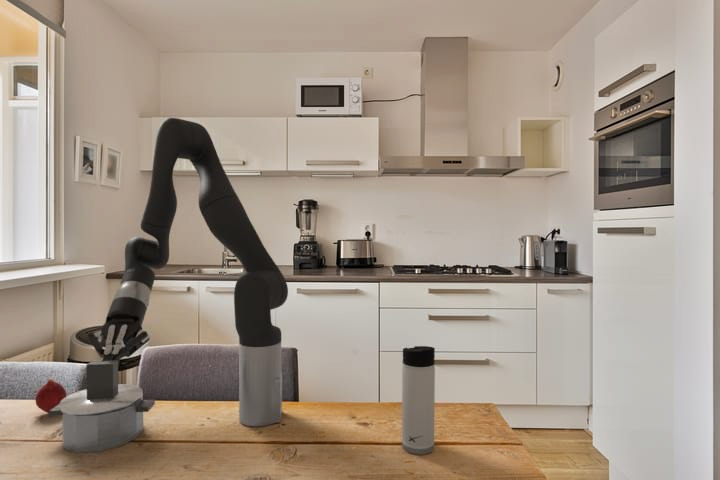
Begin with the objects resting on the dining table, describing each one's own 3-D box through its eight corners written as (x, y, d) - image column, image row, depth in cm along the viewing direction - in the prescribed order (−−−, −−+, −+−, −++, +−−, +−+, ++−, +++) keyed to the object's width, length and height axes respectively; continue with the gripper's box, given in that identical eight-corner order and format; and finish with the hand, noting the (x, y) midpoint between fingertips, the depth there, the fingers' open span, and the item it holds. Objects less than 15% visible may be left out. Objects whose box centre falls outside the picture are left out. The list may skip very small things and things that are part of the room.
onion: (72, 408, 105) (72, 375, 104) (53, 419, 99) (52, 383, 99) (49, 407, 105) (49, 374, 105) (29, 417, 100) (28, 382, 99)
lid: (152, 386, 99) (152, 351, 99) (126, 413, 84) (125, 372, 84) (82, 389, 97) (82, 353, 97) (43, 417, 82) (42, 375, 82)
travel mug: (414, 459, 82) (415, 351, 82) (395, 443, 88) (396, 343, 88) (441, 451, 85) (442, 347, 85) (421, 437, 91) (422, 340, 91)
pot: (162, 418, 99) (162, 387, 99) (138, 449, 85) (138, 413, 85) (73, 422, 97) (73, 390, 97) (34, 454, 83) (34, 417, 83)
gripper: (94, 295, 101) (65, 366, 89) (155, 295, 102) (135, 363, 90) (105, 314, 106) (79, 383, 94) (163, 313, 108) (144, 381, 96)
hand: (106, 373), depth 92 cm, fingers closed
